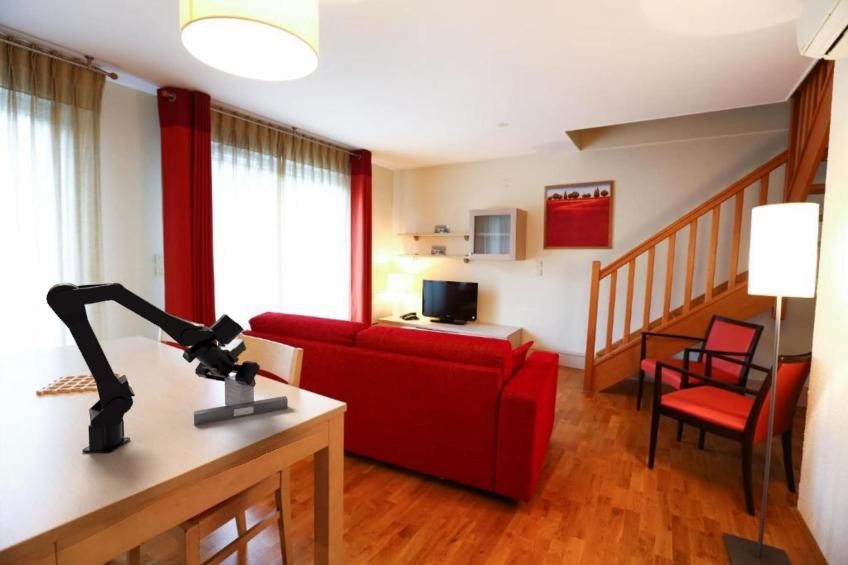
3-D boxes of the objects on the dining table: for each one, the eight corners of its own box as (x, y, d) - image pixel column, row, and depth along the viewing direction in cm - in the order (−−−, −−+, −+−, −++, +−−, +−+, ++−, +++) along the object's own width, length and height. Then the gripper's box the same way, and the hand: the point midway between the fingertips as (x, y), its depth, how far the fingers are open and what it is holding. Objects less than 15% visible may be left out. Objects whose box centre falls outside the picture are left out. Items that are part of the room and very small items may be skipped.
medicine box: (254, 406, 117) (254, 378, 117) (241, 412, 114) (240, 382, 113) (238, 401, 121) (237, 373, 121) (224, 405, 118) (224, 377, 117)
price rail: (194, 426, 104) (194, 415, 104) (193, 421, 106) (193, 411, 106) (287, 408, 117) (287, 399, 117) (285, 405, 119) (285, 395, 119)
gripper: (255, 334, 109) (281, 363, 120) (203, 328, 115) (232, 356, 126) (233, 370, 102) (263, 397, 113) (179, 362, 108) (212, 388, 119)
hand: (242, 383), depth 118 cm, fingers closed on medicine box, 8 cm apart
